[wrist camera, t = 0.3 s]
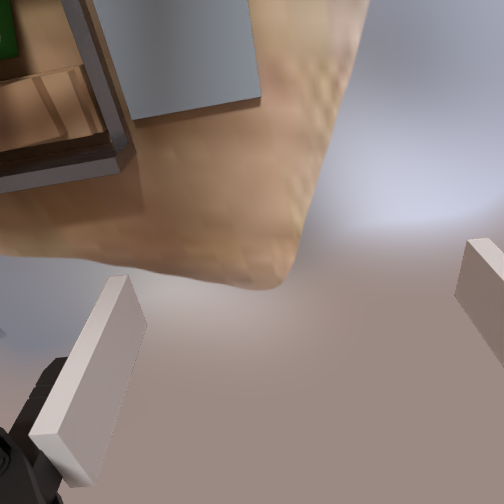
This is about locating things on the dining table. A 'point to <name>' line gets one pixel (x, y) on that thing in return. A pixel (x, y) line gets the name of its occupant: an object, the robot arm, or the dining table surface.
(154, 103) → the mat
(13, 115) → the offcut stack
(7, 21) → the soya milk
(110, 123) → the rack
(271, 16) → the dining table surface
